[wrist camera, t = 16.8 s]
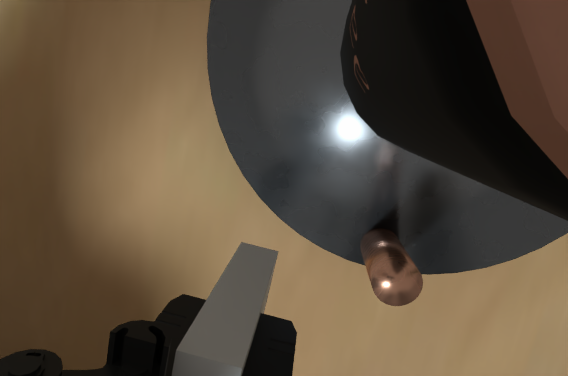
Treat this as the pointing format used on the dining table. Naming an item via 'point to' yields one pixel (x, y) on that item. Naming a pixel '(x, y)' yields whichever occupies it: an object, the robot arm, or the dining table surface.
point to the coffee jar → (468, 88)
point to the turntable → (348, 156)
